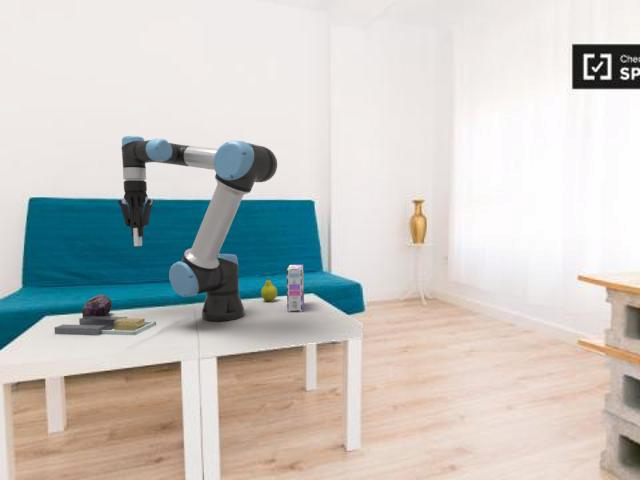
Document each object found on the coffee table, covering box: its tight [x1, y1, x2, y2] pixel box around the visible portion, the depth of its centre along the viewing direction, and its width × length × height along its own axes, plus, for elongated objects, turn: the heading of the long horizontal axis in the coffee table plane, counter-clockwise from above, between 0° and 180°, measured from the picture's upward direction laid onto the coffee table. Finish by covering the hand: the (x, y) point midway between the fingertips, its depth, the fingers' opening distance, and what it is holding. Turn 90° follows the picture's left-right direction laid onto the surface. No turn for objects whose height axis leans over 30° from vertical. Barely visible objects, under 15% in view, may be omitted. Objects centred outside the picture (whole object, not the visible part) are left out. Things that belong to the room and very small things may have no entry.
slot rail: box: [54, 316, 128, 336], centre depth 133 cm, size 15×14×4 cm
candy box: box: [286, 264, 305, 313], centre depth 162 cm, size 14×6×16 cm, turn 179°
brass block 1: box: [113, 317, 134, 331], centre depth 131 cm, size 4×4×4 cm
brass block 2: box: [125, 317, 146, 331], centre depth 131 cm, size 4×4×4 cm
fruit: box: [260, 273, 278, 302], centre depth 176 cm, size 7×7×12 cm
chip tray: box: [101, 320, 157, 336], centre depth 131 cm, size 11×12×2 cm
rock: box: [81, 294, 113, 318], centre depth 149 cm, size 12×9×10 cm
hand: (138, 245), depth 150 cm, fingers closed
